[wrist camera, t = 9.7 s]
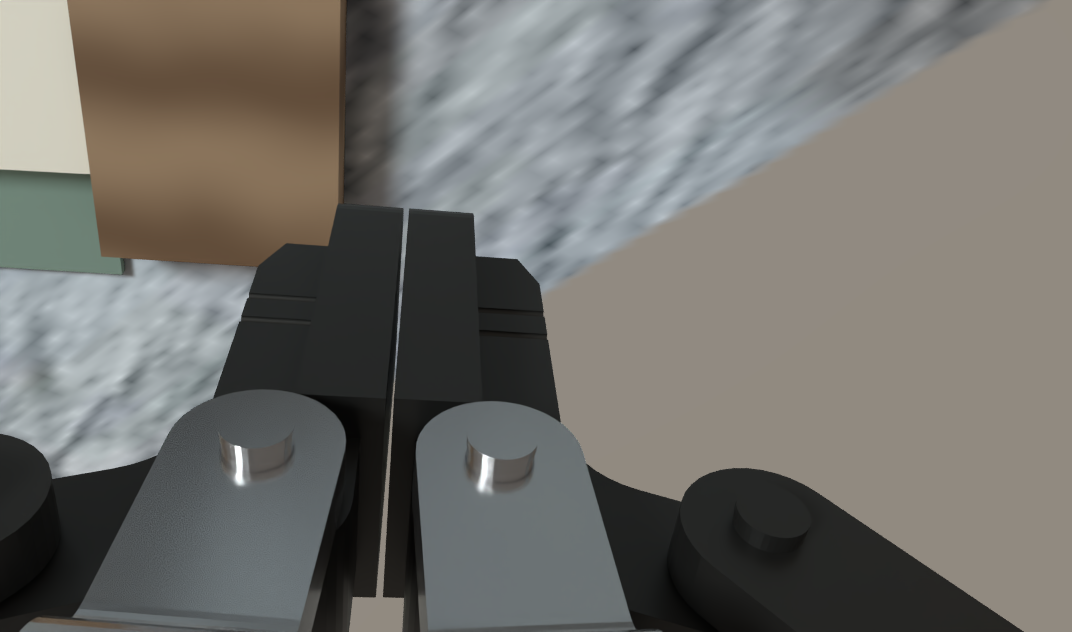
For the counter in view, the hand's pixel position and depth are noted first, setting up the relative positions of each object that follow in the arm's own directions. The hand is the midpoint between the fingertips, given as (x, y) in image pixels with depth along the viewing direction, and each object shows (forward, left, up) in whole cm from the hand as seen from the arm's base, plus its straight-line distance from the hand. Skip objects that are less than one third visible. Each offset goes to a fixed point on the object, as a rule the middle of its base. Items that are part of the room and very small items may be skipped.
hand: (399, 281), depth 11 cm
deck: (+6, -7, -27) cm, 29 cm away
